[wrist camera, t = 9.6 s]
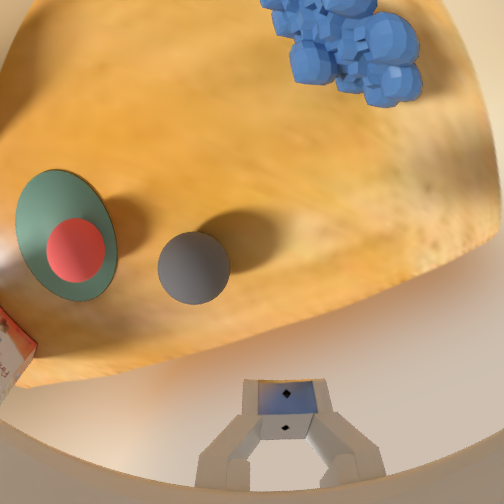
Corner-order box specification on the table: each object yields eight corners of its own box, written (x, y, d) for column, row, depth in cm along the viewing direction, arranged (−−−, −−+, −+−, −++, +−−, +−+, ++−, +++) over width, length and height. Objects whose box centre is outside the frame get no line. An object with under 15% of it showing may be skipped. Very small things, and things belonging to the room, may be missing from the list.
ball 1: (114, 214, 21) (79, 208, 23) (60, 233, 17) (32, 224, 18) (120, 274, 23) (86, 261, 25) (74, 301, 19) (44, 282, 20)
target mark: (8, 178, 21) (7, 178, 21) (108, 162, 21) (107, 162, 20) (33, 293, 26) (32, 294, 26) (128, 306, 26) (127, 307, 26)
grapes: (223, 53, 17) (189, -24, 6) (278, -1, 15) (294, -93, 4) (342, 145, 20) (426, 161, 9) (390, 89, 18) (491, 69, 7)
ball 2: (239, 235, 19) (199, 211, 23) (167, 273, 17) (138, 239, 20) (248, 295, 22) (211, 264, 26) (189, 331, 20) (159, 292, 23)
